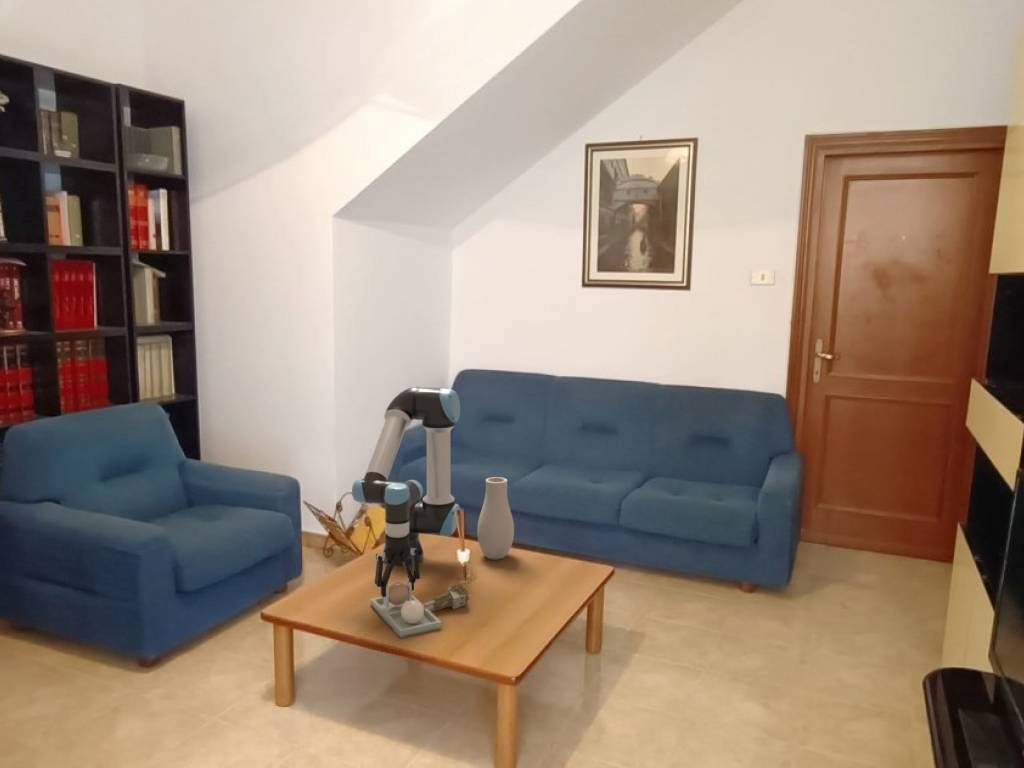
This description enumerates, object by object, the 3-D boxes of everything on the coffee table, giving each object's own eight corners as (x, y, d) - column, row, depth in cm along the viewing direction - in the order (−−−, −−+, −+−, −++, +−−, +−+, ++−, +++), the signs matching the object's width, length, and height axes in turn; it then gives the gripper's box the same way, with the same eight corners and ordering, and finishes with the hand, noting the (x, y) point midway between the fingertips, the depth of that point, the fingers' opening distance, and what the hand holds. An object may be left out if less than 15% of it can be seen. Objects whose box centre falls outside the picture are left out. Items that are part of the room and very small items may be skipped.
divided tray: (408, 597, 253) (408, 591, 252) (441, 628, 231) (441, 621, 231) (370, 605, 246) (370, 599, 246) (400, 638, 225) (400, 631, 225)
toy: (429, 608, 237) (472, 591, 244) (420, 593, 242) (462, 577, 249) (428, 624, 241) (471, 607, 248) (419, 609, 246) (461, 593, 253)
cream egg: (418, 615, 238) (418, 594, 237) (427, 624, 232) (427, 602, 231) (397, 620, 235) (397, 598, 234) (406, 629, 229) (406, 607, 228)
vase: (500, 566, 280) (501, 487, 275) (469, 558, 287) (470, 480, 283) (520, 555, 291) (522, 478, 287) (490, 547, 299) (491, 472, 294)
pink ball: (412, 606, 242) (412, 585, 241) (391, 610, 239) (391, 589, 238) (403, 597, 248) (403, 577, 247) (383, 602, 245) (383, 581, 244)
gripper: (421, 525, 248) (421, 592, 252) (362, 535, 238) (363, 605, 242) (431, 532, 242) (431, 601, 245) (371, 542, 232) (371, 614, 235)
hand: (397, 603), depth 244 cm, fingers closed on pink ball, 7 cm apart
